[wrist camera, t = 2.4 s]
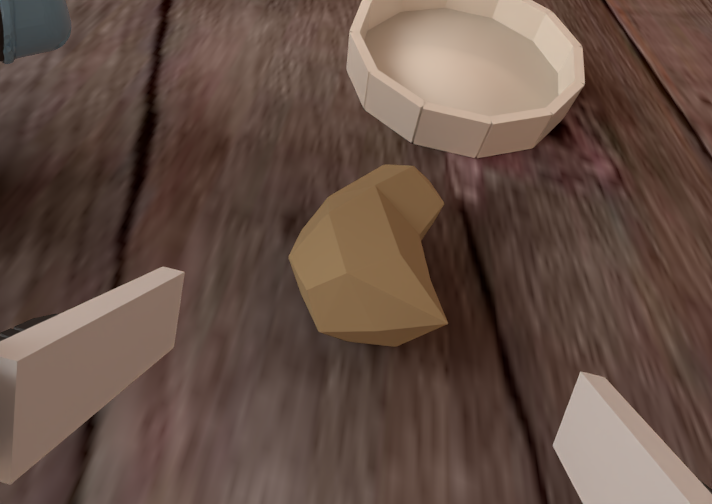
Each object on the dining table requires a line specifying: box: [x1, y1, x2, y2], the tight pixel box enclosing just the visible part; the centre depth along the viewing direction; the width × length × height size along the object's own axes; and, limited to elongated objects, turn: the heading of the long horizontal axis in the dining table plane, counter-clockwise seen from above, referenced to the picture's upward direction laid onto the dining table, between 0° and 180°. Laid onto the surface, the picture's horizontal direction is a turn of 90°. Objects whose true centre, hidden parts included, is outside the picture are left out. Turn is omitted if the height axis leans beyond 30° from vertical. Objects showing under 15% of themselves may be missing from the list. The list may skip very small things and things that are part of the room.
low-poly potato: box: [288, 165, 448, 347], centre depth 31 cm, size 15×11×12 cm
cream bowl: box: [346, 0, 585, 158], centre depth 48 cm, size 24×24×4 cm
